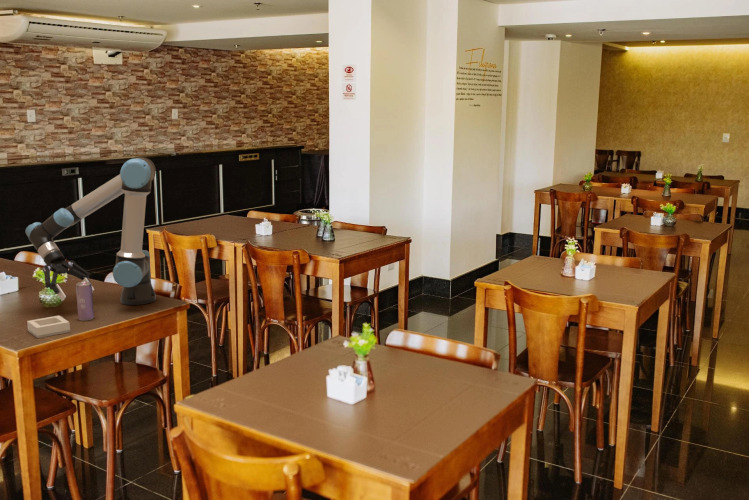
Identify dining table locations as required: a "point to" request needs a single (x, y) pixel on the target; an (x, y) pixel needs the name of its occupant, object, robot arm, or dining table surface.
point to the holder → (48, 326)
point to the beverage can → (84, 301)
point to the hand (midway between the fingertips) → (78, 295)
